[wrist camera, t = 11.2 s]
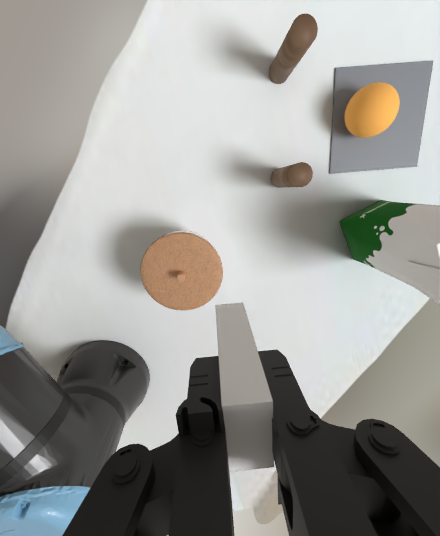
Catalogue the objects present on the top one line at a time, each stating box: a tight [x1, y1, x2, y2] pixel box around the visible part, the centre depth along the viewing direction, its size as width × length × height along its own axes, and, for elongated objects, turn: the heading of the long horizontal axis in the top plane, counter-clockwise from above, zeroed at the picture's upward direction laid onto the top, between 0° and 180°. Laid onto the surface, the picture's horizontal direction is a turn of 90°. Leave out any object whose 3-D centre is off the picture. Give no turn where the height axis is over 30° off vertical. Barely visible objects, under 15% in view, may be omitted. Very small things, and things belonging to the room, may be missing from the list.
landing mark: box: [330, 61, 433, 173], centre depth 35 cm, size 13×13×1 cm
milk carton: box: [340, 200, 440, 304], centre depth 30 cm, size 9×9×20 cm
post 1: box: [269, 14, 317, 84], centre depth 28 cm, size 3×3×9 cm
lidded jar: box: [141, 230, 223, 310], centre depth 35 cm, size 11×11×9 cm
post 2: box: [271, 162, 313, 187], centre depth 32 cm, size 3×3×9 cm
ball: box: [345, 82, 400, 138], centre depth 32 cm, size 6×6×6 cm
